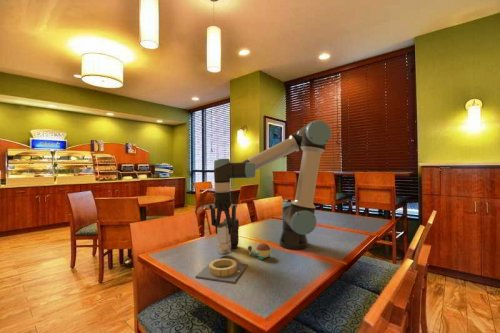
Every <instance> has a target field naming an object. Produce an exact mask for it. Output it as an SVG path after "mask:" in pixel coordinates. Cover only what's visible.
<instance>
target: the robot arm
mask: <svg viewBox="0 0 500 333" xmlns="http://www.w3.org/2000/svg"><path fill="white" fill-rule="evenodd" d="M331 137H332V129H331V127H330V125H329V124H328V123H327V122H325V121H323V120H313V121H310V122H308V123H307V124H306V125H304V126H302V127H300V129H299V130H296V131H295V132H294V133H292V134H290V135H289V137H288V138H286V139H285V140H282V141H281V142H278V143H276V144H275V145H273V146H271V147H269V148H266V149H265V150H262V151H261V152H259V153H256V154H255V155H253V156H251V157H249V158H247V159H245V160H243V161H241V162H231V159H229V158H216V159H214V160H213V177H214V181H213V182H214V203H212V204H209V205H208V206H209V209H210V221H211V226H213V227H215V234H217V240H218V224H220V223H221V217H222V212H224V215H225V218H226V220H227V225H228V227H227V242H229V241H230V240H231V239H230V234H232V227H233V226H235V225H236V218H237V208H238V205H237V204H233V202H232V201H231V199H232V195H231V194H232V193H231V179H250V178H252V179H253V178H255V177H256V171H258V170H260V169H262V168H264V167H266V166H268V165H269V164H272V163H273V162H276V161H278V160H280V159H282V158H284V157H286V156H288V155H289V154H291V153H293V152H300V151H302V156H301V162H300V168H299V173H298V180H297V185H296V192H295V198H294V200H292V201H291V202H287V201H285V202H283V203H282V206H281V207H282V208H281V209H282V210H281V211H282V212H281V214H282V215H281V217H282V218H281V220H282V222H281V223H282V230H281V234H280V237H279V246H280V247H282V248H286V249H288V250H303V249H306V248H307V247H309V244H308V243H309V241H308V238H307V235H308V234H311V233H312V232H314V230H315V229H316V226H317V218H316V215H315V212H316V206H315V204H314V199H315V193H316V186H317V180H318V174H319V169H320V164H321V163H320V162H321V156H322V154H323V153H324V152H325V151H326V149H327V148H326V147H327V143H328V142H330V140H331ZM230 208H231V211H230ZM230 212H231V214H230ZM231 218H232V222H231Z"/></svg>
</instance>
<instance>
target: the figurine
mask: <svg viewBox="0 0 500 333" xmlns="http://www.w3.org/2000/svg"><path fill="white" fill-rule="evenodd" d="M252 249H253V247H252V246H251V245H249V246H247V250H248V253H249V257H252V256H253V255H256V256H258V259H259V260H261V261H262V260H264V259H266V258H269V257H271V247H270V246H269V244H267V243H265V242H263V243H260V244H259V243H258V245H257V247H256V248H255V250H254V252H253V251H252Z"/></svg>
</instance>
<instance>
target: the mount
mask: <svg viewBox="0 0 500 333" xmlns="http://www.w3.org/2000/svg"><path fill="white" fill-rule="evenodd" d="M247 267H248V263H241V262H237V261H236V260H234V259H231V258H218V259H213V260H212V261H211V262H209V264H207V265H206V266H205V267H204V268H203V269H202V270H201V271H200V272H198V273H197V274H196V275H195V279H201V280H202V279H204V280H210V281H216V282H223V283H231V284H235V283H236V282H237V280H238V279H239V278H240V277H241V275H242V274H243V272H244V271H245V270H246V268H247Z"/></svg>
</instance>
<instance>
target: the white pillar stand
mask: <svg viewBox="0 0 500 333" xmlns="http://www.w3.org/2000/svg"><path fill="white" fill-rule="evenodd" d="M227 227H228V225H227V220H225V221H224V220H223V221H221V222H220V224H218V239H217V241H216V242H217V244H216V248H217V255H219V256H229V255H230V254H232V250H231V241H229V242H227Z"/></svg>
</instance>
